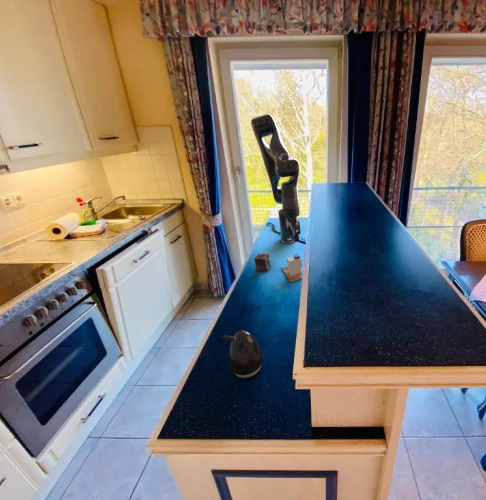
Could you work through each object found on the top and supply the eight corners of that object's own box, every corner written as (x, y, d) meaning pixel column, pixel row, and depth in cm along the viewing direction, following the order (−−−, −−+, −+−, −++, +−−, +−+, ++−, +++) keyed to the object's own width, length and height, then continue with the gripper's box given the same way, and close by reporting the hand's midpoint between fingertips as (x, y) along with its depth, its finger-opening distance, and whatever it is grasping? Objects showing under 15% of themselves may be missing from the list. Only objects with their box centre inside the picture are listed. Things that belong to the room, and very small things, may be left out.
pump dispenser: (234, 358, 93) (226, 322, 86) (266, 356, 93) (260, 320, 86) (227, 384, 84) (218, 347, 77) (262, 382, 84) (255, 344, 77)
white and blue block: (290, 275, 138) (289, 259, 134) (288, 272, 141) (286, 255, 137) (302, 272, 140) (300, 256, 136) (299, 269, 143) (298, 253, 139)
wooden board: (281, 269, 145) (281, 268, 145) (299, 264, 148) (299, 264, 148) (290, 282, 133) (290, 281, 133) (309, 277, 137) (309, 276, 137)
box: (266, 271, 143) (265, 259, 140) (255, 271, 144) (253, 258, 141) (270, 266, 148) (269, 253, 145) (260, 265, 149) (258, 253, 146)
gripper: (278, 202, 130) (281, 234, 137) (288, 211, 119) (291, 245, 126) (293, 200, 133) (295, 231, 140) (304, 208, 121) (306, 242, 129)
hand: (293, 238), depth 133 cm, fingers open, 8 cm apart
